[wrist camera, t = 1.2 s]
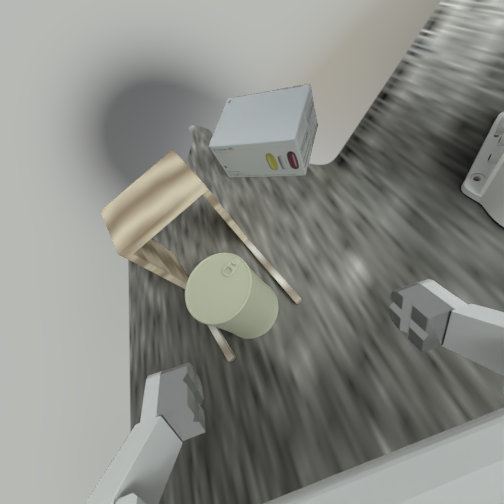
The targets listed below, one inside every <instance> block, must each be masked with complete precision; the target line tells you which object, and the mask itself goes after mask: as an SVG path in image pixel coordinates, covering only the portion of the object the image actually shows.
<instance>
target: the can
mask: <svg viewBox="0 0 504 504" xmlns="http://www.w3.org/2000/svg"><path fill="white" fill-rule="evenodd" d="M185 302H186V306H187V309H188V311H189V312H190V314H191V315H192V316H193V317H194V318H195V319H196V320H198V321H199V322H201V323H204V324H208V325H212V326H215V327H218V328H220V329H223V330H226V331H228V332H231V333H233V334H235V335H236V336H238V337H241V338H245V339H253V338H257V337H260V336H262V335H263V334H265V333H266V332H267V331H269V330H270V328H271V327H272V326H273V324H274V323H275V321H276V318H277V315H278V308H279V306H278V299H277V296H276V294H275V292H274V291H273V289H272V288H271V287H270V286H268V285H267V284H265V283H264V282H263V281H262V280H261V279H260V278H259V277H258V276H257V275H256V274H255V273H254V272H253V271H252V270H251V269H250V267H249V266H248V265H247V264H246V262H245V261H244V260H243V259H242V258H240V257H239V256H237V255H235V254H232V253H217V254H213V255H211V256H209V257H207V258H205V259H204V260H202V261H201V262H200V263H199V264H198V265H197V266H196V267H195V268H194V270H193V271H192V273H191V274H190V276H189V278H188V281H187V284H186V288H185Z"/></svg>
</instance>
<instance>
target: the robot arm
mask: <svg viewBox="0 0 504 504" xmlns="http://www.w3.org/2000/svg"><path fill="white" fill-rule="evenodd" d="M474 179H476V180H478V181H475V180H474ZM461 190H462V192H463V193H464V194H465V195H467V196H468V197H470V198H472V199H473V200H475V201H477V202H479V203H480V204H481V205H482V206H483V207H484V208H485V210H486V211H487V212H488V213H489V215H490V216H491V217H492V218H493V219H494V220H495V221H496V222H497V223H499V224H500V225H501V226H503V227H504V112H502V113H500V114H499V115H498V117H497V118H496V120H495V121H494V123H493V125H492V127H491V129H490V131H489V133H488V135H487V137H486V139H485V141H484V143H483V145H482V147H481V148H480V150H479V152H478V154H477V156H476V158H475V160H474V162H473V164H472V166H471V168H470V170H469V172H468V174H467V176H466V178H465V180H464V182H463V184H462V186H461ZM390 299H391V300H392V301H393V303H392V304H391V306H390V307H389V314H390V317H391V319H392V321H393V323H394V324H395V325H396V327H397V328H398V329H399V330H401V331H404V332H406V333H407V334H408V339H409V340H410V341H411V342H412V343H413V344H414V345H415V346H416V347H417V348H418V349H419V350H420V351H421V352H424V351H427V350H430V349H433V348H436V347H439V346H442V345H443V347H445V348H447V349H449V350H451V351H453V352H455V353H457V354H459V355H461V356H463V357H465V358H467V359H469V360H472V361H474V362H476V363H478V364H480V365H482V366H484V367H486V368H488V369H490V370H492V371H494V372H496V373H499V374H501V375H503V376H504V312H501V311H497V310H493V309H490V308H486V307H482V306H479V305H475V304H469V305H468V304H466V303H465V302H463V301H462V300H460V299H459V298H458V297H456V296H455V295H453V294H452V293H450V292H449V291H447V290H446V289H445V288H443V287H442V286H440V285H439V284H437V283H436V282H435V281H433V280H430V279H427V280H424V281H421V282H418V283H416V284H412V285H409V286H406V287H403V288H401V289H398V290H395V291H393V292H392V293H391V295H390ZM502 392H503V393H504V384H503V386H502ZM203 401H204V397H203V389H202V385H201V382H200V379H199V377H198V375H197V374H194V373H193V366H192V365H191V363H190V362H189V363H185V364H182V365H179V366H176V367H173V368H169V369H166V370H163V371H160V372H157V373H154V374H151V375H148V377H147V379H146V383H145V390H144V397H143V404H142V411H141V418H140V423H138V424H136V425H135V426H134V428H133V429H132V431H131V432H130V434H129V436H128V437H127V439H126V440H125V442H124V444H123V445H122V447H121V448H120V450H119V451H118V453H117V454H116V456H115V458H114V459H113V461H112V462H111V464H110V466H109V467H108V468H107V470H106V472H105V473H104V475H103V476H102V478H101V480H100V481H99V483H98V484H97V486H96V487H95V489H94V490H93V492H92V494H91V495H90V497H89V498H88V500H87V501H86V503H85V504H159V501H160V499H161V496H162V494H163V491H164V489H165V486H166V484H167V481H168V479H169V476H170V474H171V471H172V469H173V466H174V464H175V461H176V459H177V456H178V454H179V451H180V449H181V446H182V444H183V443H182V441H185V440H187V439H190V438H192V437H195V436H197V435H200V434H202V433H205V432H206V428H205V412H204V411H203V409H202V407H201V405H202V403H203ZM263 504H504V408H501V409H498V410H496V411H493V412H491V413H488V414H486V415H483V416H481V417H478V418H476V419H473V420H471V421H468V422H466V423H463V424H461V425H458V426H456V427H453V428H451V429H448V430H446V431H443V432H441V433H438V434H436V435H433V436H431V437H428V438H426V439H423V440H421V441H418V442H416V443H413V444H411V445H408V446H406V447H403V448H401V449H398V450H396V451H393V452H391V453H388V454H386V455H383V456H381V457H378V458H376V459H373V460H371V461H368V462H366V463H363V464H361V465H358V466H356V467H353V468H351V469H348V470H345V471H343V472H340V473H338V474H335V475H333V476H330V477H328V478H325V479H323V480H320V481H318V482H315V483H313V484H310V485H308V486H305V487H303V488H300V489H298V490H295V491H293V492H290V493H288V494H285V495H283V496H280V497H278V498H275V499H273V500H270V501H268V502H265V503H263Z"/></svg>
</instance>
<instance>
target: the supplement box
mask: <svg viewBox="0 0 504 504" xmlns="http://www.w3.org/2000/svg"><path fill="white" fill-rule="evenodd" d="M317 126H318V124H317V119H316V114H315V109H314V102H313V97H312V90H311V85H310V84H306V85H300V86H294V87H289V88H283V89H278V90H272V91H267V92H261V93H256V94H250V95H245V96H239V97H231V98H228V99H227V102H226V104H225V106H224V109H223V111H222V114H221V117H220V119H219V122H218V124H217V126H216V129H215V131H214V133H213V136H212V138H211V141H210V143H209V147H210V149H211V150H212V152H213V154H214V155H215V157H216V158H217V160H218V161H219V163H220V164H221V166H222V167H223V169H224V171H225V172H226V174H227V175H228V177H229V178H234V177H274V176H305V175H306V172H307V168H308V163H309V159H310V155H311V151H312V146H313V142H314V138H315V134H316V130H317Z"/></svg>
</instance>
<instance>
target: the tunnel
mask: <svg viewBox="0 0 504 504" xmlns="http://www.w3.org/2000/svg"><path fill="white" fill-rule="evenodd" d="M201 195H203V196H204V197H205V198H206V199H207V201H208V202H209V203H210V204H211V205H212V206H213V208H214V209H215V210H216V211H217V212H218V213H219V215H220V216H221V217H222V218H223V219H224V220H225V222H226V223H227V224H228V225H229V226H230V227H231V229H232V230H233V231H234V232H235V233H236V234H237V235H238V237H239V238H240V239H241V240H242V241H243V242H244V244H245V245H246V246H247V247H248V248H249V249H250V251H251V252H252V253H253V254H254V255H255V256H256V257H257V259H258V260H259V261H260V262H261V263H262V264H263V266H264V267H265V268H266V269H267V270H268V271H269V273H270V274H271V275H272V276H273V277H274V278H275V279H276V281H277V282H278V283H279V284H280V285H281V286H282V288H283V289H284V290H285V291H286V292H287V293H288V294H289V296H290V297H291V298H292V299H293V300H294V301H295V303H296V304H297V305H298V304H299V303H300V302H302V301H303V300H302V299H301V298H300V297H299V296H298V295H297V293H296V292H295V291H294V290H293V289H292V288H291V287H290V286H289V284H288V283H287V282H286V281H285V280H284V279H283V278H282V277H281V275H280V274H279V273H278V272H277V271H276V270H275V269H274V268H273V266H272V265H271V264H270V263H269V262H268V261H267V260H266V259H265V257H264V256H263V255H262V254H261V253H260V252H259V251H258V250H257V248H256V247H255V246H254V245H253V244H252V243H251V242H250V241H249V239H248V238H247V237H246V236H245V235H244V233H243V232H242V231H241V230H240V228H239V227H238V226H237V225H236V223H235V222H234V221H233V220H232V218H231V217H230V216H229V215H228V213H227V212H226V211H225V210H224V208H223V207H222V206H221V205H220V203H219V202H218V201H217V200H216V198H215V197H214V196H213V195H212V193H211V192H210V191H209V190H208V188H207V187H206V186H205V185H204V183H203V182H202V181H201V180H200V179H199V178H198V177H197V176H196V174H195V173H194V172H193V171H192V170H191V169H190V168H189V167H188V166H187V165H186V163H185V162H184V161H183V160H182V159H181V158H180V157H179V156H178V155H177V154H176V153H175V151H173V149H172V150H171V151H170V152H169V153H168V154H166V155H165V156H164V157H163V158H162V159H161V160H159V161H158V162H157V163H156V164H155V165H154V166H153V167H151V168H150V169H149V170H148V171H147V172H145V173H144V174H143V175H142V176H141V177H140V178H138V179H137V180H136V181H135V182H134V183H133V184H131V185H130V186H129V187H128V188H127V189H126V190H125V191H123V192H122V193H121V194H120V195H119V196H117V197H116V198H115V199H114V200H113V201H112V202H110V203H109V204H108V205H107V206H106V207H105V208H103V209H102V210H101V214H102V216H103V218H104V221H105V223H106V226H107V228H108V230H109V233H110V235H111V238H112V240H113V243H114V245H115V247H116V250H117V252H118V254H119V255H121V256H123V257H124V258H126V259H128V260H130V261H132V262H134V263H136V264H138V265H140V266H142V267H144V268H145V269H147V270H149V271H151V272H153V273H155V274H157V275H159V276H161V277H163V278H165V279H167V280H168V281H170V282H172V283H174V284H176V285H178V286H180V287H182V288H184V289H185V288H186V284H187V281H188V276H187V275H186V273H185V271H184V270H183V268H182V266H181V265H180V263H179V261H178V260H177V258H176V256H175V255H174V253H173V252H171V251H170V250H168V249H167V248H165V247H164V246H162V245H161V244H160V243H158V242H157V241H155V240H154V239H152V237H154V236H155V235H156V234H157V233H158V232H159V231H161V230H162V229H163V228H164V227H165V226H166V225H168V224H169V223H170V222H171V221H172V220H173V219H175V218H176V217H177V216H178V215H179V214H180V213H182V212H183V211H184V210H185V209H186V208H187V207H189V206H190V205H191V204H192V203H193V202H194V201H196V200H197V199H198V198H199V197H200V196H201ZM207 325H208V324H207ZM208 327H209V329H210V330H211V332H212V334H213V336H214V337H215V339H216V341H217V343H218V344H219V346H220V348H221V350H222V351H223V353H224V355H225V357H226V358H227V360H228V362H232V361H233V360H234V359H235V358H236V356H235V354H234V353H233V351H232V349H231V348H230V346H229V344H228V343H227V341H226V339H225V338H224V336H223V334H222V333H221V331H220V329H219V328H218V327H215V326H212V325H208Z"/></svg>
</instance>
